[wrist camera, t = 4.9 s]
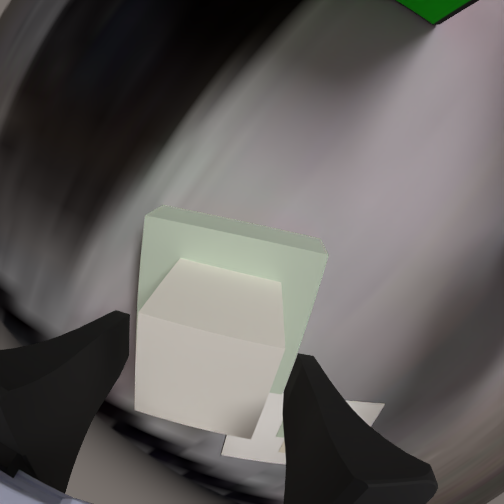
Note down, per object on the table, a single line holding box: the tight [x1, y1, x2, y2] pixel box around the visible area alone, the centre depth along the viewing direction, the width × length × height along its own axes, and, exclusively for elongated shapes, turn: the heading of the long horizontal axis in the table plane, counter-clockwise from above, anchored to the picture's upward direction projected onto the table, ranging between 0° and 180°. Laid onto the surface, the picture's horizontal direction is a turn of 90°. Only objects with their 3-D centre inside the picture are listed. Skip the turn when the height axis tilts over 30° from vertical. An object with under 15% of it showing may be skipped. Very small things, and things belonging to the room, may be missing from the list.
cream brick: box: [135, 258, 285, 439], centre depth 12 cm, size 4×4×5 cm
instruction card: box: [221, 392, 385, 464], centre depth 20 cm, size 10×8×1 cm
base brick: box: [136, 205, 329, 394], centre depth 16 cm, size 8×8×3 cm
